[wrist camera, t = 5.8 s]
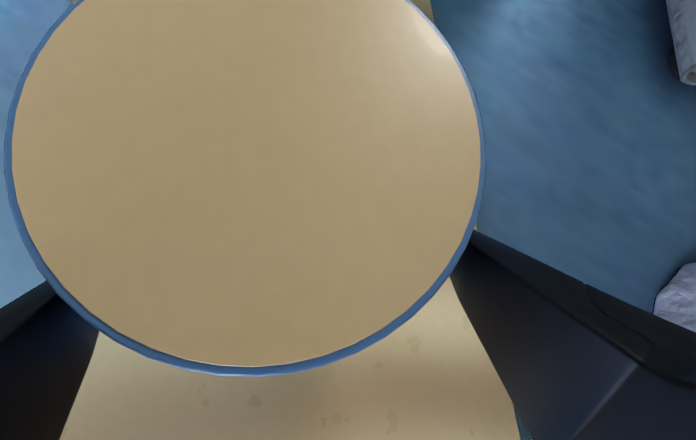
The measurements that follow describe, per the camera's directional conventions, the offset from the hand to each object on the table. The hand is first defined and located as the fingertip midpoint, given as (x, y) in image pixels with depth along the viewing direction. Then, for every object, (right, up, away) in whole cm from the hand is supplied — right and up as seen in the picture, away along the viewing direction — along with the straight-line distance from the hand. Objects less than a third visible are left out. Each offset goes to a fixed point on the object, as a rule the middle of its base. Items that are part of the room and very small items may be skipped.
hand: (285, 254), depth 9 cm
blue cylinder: (-1, +1, +6) cm, 6 cm away
